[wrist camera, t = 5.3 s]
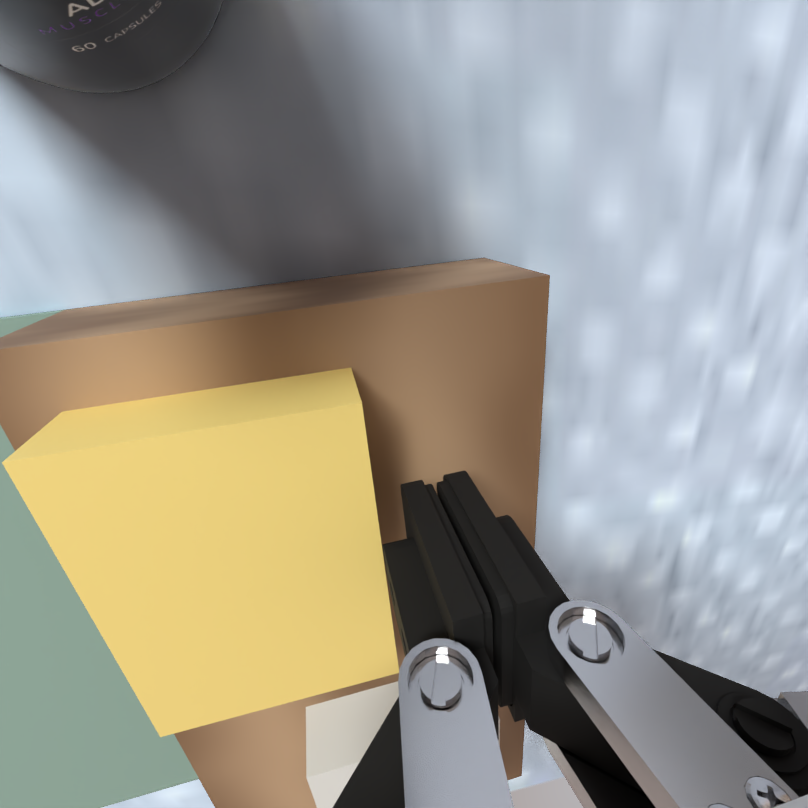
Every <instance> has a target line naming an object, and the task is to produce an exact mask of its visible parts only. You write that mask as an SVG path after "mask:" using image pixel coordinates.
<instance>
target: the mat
mask: <svg viewBox="0 0 808 808" xmlns="http://www.w3.org/2000/svg"><path fill="white" fill-rule="evenodd" d="M61 311H63V310H59V311H51V312H43V313H35V314H27V315H19V316H11V317H3V318H0V337H3V336H5V335H7V334H10V333H12V332H14V331H17V330H19V329H21V328H24V327H26V326H28V325H31V324H33V323H35V322H38V321H40V320H42V319H45V318H47V317H49V316H52V315H54V314H56V313H59V312H61ZM14 452H15V450H14V448H13V446H12V445H11V443H10V441H9V439H8V437H7V436H6V434H5V432H4V430H3V429H2V427H1V425H0V808H101V807H104V806H108V805H111V804H115V803H118V802H122V801H125V800H128V799H132V798H135V797H139V796H142V795H145V794H149V793H152V792H156V791H159V790H162V789H166V788H169V787H173V786H176V785H179V784H183V783H186V782H190V781H193V780H196V779H199V778H198V776H197V774H196V772H195V771H194V769H193V767H192V765H191V763H190V762H189V760H188V758H187V756H186V755H185V753H184V751H183V749H182V747H181V746H180V744H179V742H178V740H177V739H176V737H175V735H174V734H171V735H167V736H163V737H160V736H159V734H158V732H157V731H156V729H155V727H154V725H153V724H152V722H151V720H150V718H149V717H148V715H147V713H146V712H145V710H144V708H143V706H142V705H141V703H140V701H139V699H138V698H137V696H136V694H135V692H134V691H133V689H132V687H131V686H130V684H129V682H128V680H127V679H126V677H125V675H124V673H123V672H122V670H121V668H120V666H119V665H118V663H117V661H116V660H115V658H114V656H113V654H112V653H111V651H110V649H109V647H108V646H107V644H106V642H105V640H104V639H103V637H102V635H101V634H100V632H99V630H98V628H97V627H96V625H95V623H94V621H93V620H92V618H91V616H90V614H89V613H88V611H87V609H86V608H85V606H84V604H83V602H82V601H81V599H80V597H79V595H78V594H77V592H76V590H75V588H74V587H73V585H72V583H71V582H70V580H69V578H68V576H67V575H66V573H65V571H64V569H63V568H62V566H61V564H60V562H59V561H58V559H57V557H56V556H55V554H54V552H53V550H52V549H51V547H50V545H49V543H48V542H47V540H46V538H45V536H44V535H43V533H42V531H41V530H40V528H39V526H38V524H37V523H36V521H35V519H34V517H33V516H32V514H31V512H30V510H29V509H28V507H27V505H26V504H25V502H24V500H23V498H22V497H21V495H20V493H19V491H18V490H17V488H16V486H15V484H14V483H13V481H12V479H11V478H10V476H9V474H8V472H7V471H6V469H5V467H4V465H3V464H2V462H3V461H4V460H5V459H7V458H8V457H9V456H10V455H11V454H12V453H14Z"/></svg>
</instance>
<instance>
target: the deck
mask: <svg viewBox="0 0 808 808" xmlns="http://www.w3.org/2000/svg"><path fill="white" fill-rule="evenodd" d="M549 279H550V275H547V274H543V273H539V272H535V271H532V270H528V269H524V268H520V267H517V266H513V265H509V264H505V263H502V262H498V261H494V260H490V259H487V258H478V259H470V260H462V261H454V262H446V263H438V264H430V265H422V266H414V267H406V268H398V269H389V270H381V271H373V272H365V273H357V274H349V275H341V276H333V277H325V278H317V279H309V280H301V281H293V282H285V283H277V284H269V285H261V286H252V287H244V288H236V289H228V290H220V291H212V292H204V293H196V294H188V295H180V296H172V297H164V298H156V299H148V300H140V301H132V302H123V303H115V304H107V305H99V306H91V307H83V308H75V309H67V310H63V311H61V312H59V313H56V314H54V315H52V316H49V317H47V318H45V319H42V320H40V321H38V322H35V323H33V324H31V325H28V326H26V327H24V328H21V329H19V330H17V331H14V332H12V333H10V334H7V335H5V336H3V337H0V425H1V427H2V429H3V430H4V432H5V434H6V436H7V437H8V439H9V441H10V443H11V445H12V446H13V448H14V450H15V451H16V450H17V449H18V448H20V447H21V446H22V445H23V444H24V443H25V442H27V441H28V440H29V439H30V438H31V437H33V436H34V435H35V434H36V433H37V432H38V431H40V430H41V429H42V428H43V427H44V426H46V425H47V424H48V423H49V422H50V421H51V420H53V419H54V418H55V417H56V416H57V415H59V414H60V413H61V412H64V411H70V410H77V409H83V408H90V407H96V406H103V405H109V404H116V403H122V402H129V401H135V400H142V399H148V398H155V397H162V396H168V395H175V394H181V393H188V392H194V391H201V390H207V389H214V388H220V387H227V386H233V385H240V384H246V383H253V382H259V381H266V380H273V379H279V378H286V377H292V376H299V375H305V374H312V373H318V372H325V371H331V370H338V369H344V368H351V369H352V372H353V375H354V379H355V382H356V385H357V388H358V392H359V395H360V398H361V401H362V406H363V414H364V421H365V428H366V435H367V443H368V450H369V457H370V464H371V471H372V479H373V486H374V493H375V500H376V508H377V515H378V522H379V529H380V536H381V544H386V543H390V542H394V541H399V540H403V539H407V536H406V528H405V520H404V512H403V504H402V496H401V488H400V486H401V484H404V483H408V482H413V481H418V480H423V482H424V484H425V485H427V484H432V485H433V487H434V489H435V491H436V493H437V482H441V481H443V476H444V475H446V474H450V473H455V472H459V471H466V472H467V473H468V475H469V476H470V478H471V479H472V481H473V482H474V484H475V486H476V487H477V489H478V490H479V492H480V493H481V495H482V496H483V498H484V500H485V501H486V503H487V504H488V506H489V507H490V509H491V511H492V512H493V514H494V515H495V517H500V516H504V515H509V516H510V517H511V518H512V519H513V520H514V521H515V523H516V524H517V526H518V527H519V529H520V530H521V531H522V533H523V534H524V536H525V537H526V539H527V540H528V542H529V543H530V544H531V546H532V547H533V549H534V546H535V528H536V510H537V492H538V475H539V457H540V439H541V421H542V404H543V386H544V368H545V350H546V333H547V315H548V297H549ZM382 551H383V549H382ZM383 558H384V556H383ZM384 565H385V562H384ZM385 572H386V568H385ZM386 580H387V587H388V594H389V601H390V609H391V616H392V623H393V630H394V637H395V645H396V652H397V659H398V666H399V669H400V667H401V665H402V662H403V660H404V658H405V654H404V650H403V645H402V641H401V637H400V633H399V628H398V624H397V620H396V616H395V611H394V607H393V603H392V598H391V594H390V589H389V584H388V579H387V574H386ZM398 679H399V673H397V674H393V675H389V676H386V677H382V678H378V679H375V680H371V681H367V682H363V683H360V684H356V685H352V686H349V687H345V688H341V689H337V690H334V691H330V692H326V693H323V694H319V695H315V696H312V697H308V698H304V699H300V700H297V701H293V702H289V703H286V704H282V705H278V706H274V707H271V708H267V709H263V710H260V711H256V712H252V713H249V714H245V715H241V716H237V717H234V718H230V719H226V720H223V721H219V722H215V723H211V724H208V725H204V726H200V727H197V728H193V729H189V730H186V731H182V732H178V733H174V735H175V737H176V739H177V740H178V742H179V744H180V746H181V747H182V749H183V751H184V753H185V755H186V756H187V758H188V760H189V762H190V763H191V765H192V767H193V769H194V771H195V772H196V774H197V776H198V778H199V780H200V781H201V783H202V785H203V787H204V788H205V790H206V792H207V794H208V796H209V797H210V799H211V801H212V803H213V804H214V806H215V808H317V806H316V803H315V801H314V798H313V795H312V792H311V789H310V787H309V784H308V781H307V778H306V707H308V706H311V705H315V704H318V703H322V702H326V701H329V700H333V699H336V698H340V697H343V696H347V695H351V694H354V693H358V692H361V691H365V690H369V689H372V688H376V687H379V686H383V685H386V684H390V683H394V682H397V681H398ZM498 715H499V718H500V751H501V755H502V759H503V764H504V768H505V772H506V776H507V780H510V779H513V778H516V777H519V776H522V759H523V741H524V723H525V719H523V720H520V721H517V722H514V720H513V717H512V715H511V712H510V710H509V708H508V706H504V707H500V706H499V705H498Z"/></svg>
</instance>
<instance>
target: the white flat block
mask: <svg viewBox="0 0 808 808" xmlns="http://www.w3.org/2000/svg"><path fill="white" fill-rule="evenodd" d="M398 697H399V689H398V681H397V682H394V683H390V684H386V685H383V686H379V687H376V688H372V689H369V690H365V691H361V692H358V693H354V694H351V695H347V696H343V697H340V698H336V699H333V700H329V701H326V702H322V703H318V704H315V705H311V706H308V707H306V778H307V781H308V784H309V787H310V789H311V792H312V795H313V798H314V801H315V803H316V806H317V808H333V806H334V804H335V803H336V801H337V799H338V798H339V796H340V794H341V792H342V791H343V789H344V787H345V786H346V784H347V782H348V781H349V779H350V777H351V776H352V774H353V772H354V771H355V769H356V767H357V766H358V764H359V762H360V761H361V759H362V757H363V755H364V754H365V752H366V750H367V749H368V747H369V745H370V744H371V742H372V740H373V739H374V737H375V735H376V734H377V732H378V730H379V729H380V727H381V725H382V724H383V722H384V720H385V718H386V717H387V715H388V713H389V712H390V710H391V708H392V707H393V705H394V703H395V702H396V700H397V698H398ZM498 725H499V740H498V742H499V747H500V718H499V715H498Z"/></svg>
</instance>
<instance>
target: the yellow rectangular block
mask: <svg viewBox="0 0 808 808" xmlns="http://www.w3.org/2000/svg"><path fill="white" fill-rule="evenodd" d="M2 464H3V465H4V467H5V469H6V471H7V472H8V474H9V476H10V478H11V479H12V481H13V483H14V484H15V486H16V488H17V490H18V491H19V493H20V495H21V497H22V498H23V500H24V502H25V504H26V505H27V507H28V509H29V510H30V512H31V514H32V516H33V517H34V519H35V521H36V523H37V524H38V526H39V528H40V530H41V531H42V533H43V535H44V536H45V538H46V540H47V542H48V543H49V545H50V547H51V549H52V550H53V552H54V554H55V556H56V557H57V559H58V561H59V562H60V564H61V566H62V568H63V569H64V571H65V573H66V575H67V576H68V578H69V580H70V582H71V583H72V585H73V587H74V588H75V590H76V592H77V594H78V595H79V597H80V599H81V601H82V602H83V604H84V606H85V608H86V609H87V611H88V613H89V614H90V616H91V618H92V620H93V621H94V623H95V625H96V627H97V628H98V630H99V632H100V634H101V635H102V637H103V639H104V640H105V642H106V644H107V646H108V647H109V649H110V651H111V653H112V654H113V656H114V658H115V660H116V661H117V663H118V665H119V666H120V668H121V670H122V672H123V673H124V675H125V677H126V679H127V680H128V682H129V684H130V686H131V687H132V689H133V691H134V692H135V694H136V696H137V698H138V699H139V701H140V703H141V705H142V706H143V708H144V710H145V712H146V713H147V715H148V717H149V718H150V720H151V722H152V724H153V725H154V727H155V729H156V731H157V732H158V734H159V736H160V737H163V736H167V735H171V734H174V733H178V732H182V731H186V730H189V729H193V728H197V727H200V726H204V725H208V724H211V723H215V722H219V721H223V720H226V719H230V718H234V717H237V716H241V715H245V714H249V713H252V712H256V711H260V710H263V709H267V708H271V707H274V706H278V705H282V704H286V703H289V702H293V701H297V700H300V699H304V698H308V697H312V696H315V695H319V694H323V693H326V692H330V691H334V690H337V689H341V688H345V687H349V686H352V685H356V684H360V683H363V682H367V681H371V680H375V679H378V678H382V677H386V676H389V675H393V674H397V673H399V666H398V659H397V652H396V645H395V637H394V630H393V623H392V616H391V609H390V601H389V594H388V587H387V580H386V572H385V565H384V558H383V551H382V544H381V536H380V529H379V522H378V515H377V508H376V500H375V493H374V486H373V479H372V471H371V464H370V457H369V450H368V443H367V435H366V428H365V421H364V414H363V406H362V401H361V398H360V395H359V392H358V388H357V385H356V382H355V379H354V375H353V372H352V369H351V368H344V369H338V370H331V371H325V372H318V373H312V374H305V375H299V376H292V377H286V378H279V379H273V380H266V381H259V382H253V383H246V384H240V385H233V386H227V387H220V388H214V389H207V390H201V391H194V392H188V393H181V394H175V395H168V396H162V397H155V398H148V399H142V400H135V401H129V402H122V403H116V404H109V405H103V406H96V407H90V408H83V409H77V410H70V411H64V412H61V413H60V414H59V415H57V416H56V417H55V418H54V419H53V420H51V421H50V422H49V423H48V424H47V425H46V426H44V427H43V428H42V429H41V430H40V431H38V432H37V433H36V434H35V435H34V436H33V437H31V438H30V439H29V440H28V441H27V442H25V443H24V444H23V445H22V446H21V447H20V448H18V449H17V450H16V451H15V452H14V453H12V454H11V455H10V456H9V457H8V458H7V459H5V460H4V461H3V462H2Z"/></svg>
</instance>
